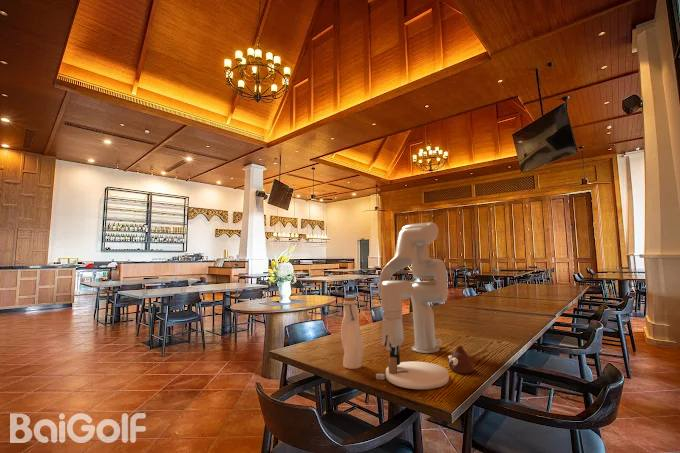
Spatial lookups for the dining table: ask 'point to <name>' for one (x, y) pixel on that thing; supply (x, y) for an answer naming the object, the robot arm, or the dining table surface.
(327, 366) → the dining table surface
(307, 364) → the dining table surface
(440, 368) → the turntable
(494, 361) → the dining table surface
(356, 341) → the water bottle
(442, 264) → the robot arm
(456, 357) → the poop emoji
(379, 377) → the pointer
